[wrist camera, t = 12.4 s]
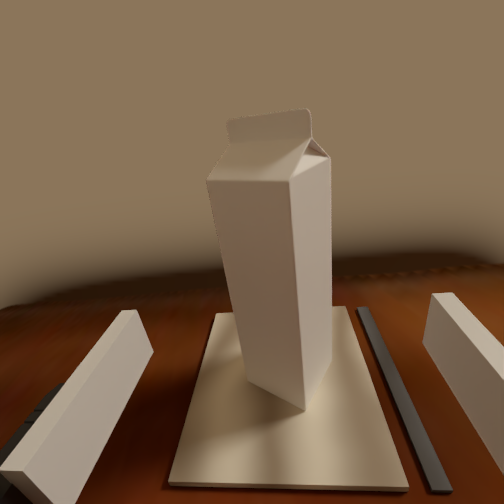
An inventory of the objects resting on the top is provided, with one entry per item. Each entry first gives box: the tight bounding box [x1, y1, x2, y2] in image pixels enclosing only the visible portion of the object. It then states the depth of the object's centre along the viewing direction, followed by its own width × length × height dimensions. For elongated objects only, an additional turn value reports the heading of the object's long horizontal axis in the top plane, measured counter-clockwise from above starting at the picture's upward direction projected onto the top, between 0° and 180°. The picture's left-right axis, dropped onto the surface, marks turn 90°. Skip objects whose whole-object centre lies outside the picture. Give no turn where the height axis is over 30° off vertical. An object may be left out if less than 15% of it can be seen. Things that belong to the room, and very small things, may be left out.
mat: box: [168, 306, 453, 493], centre depth 26 cm, size 19×18×1 cm
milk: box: [206, 108, 332, 411], centre depth 21 cm, size 6×6×22 cm
